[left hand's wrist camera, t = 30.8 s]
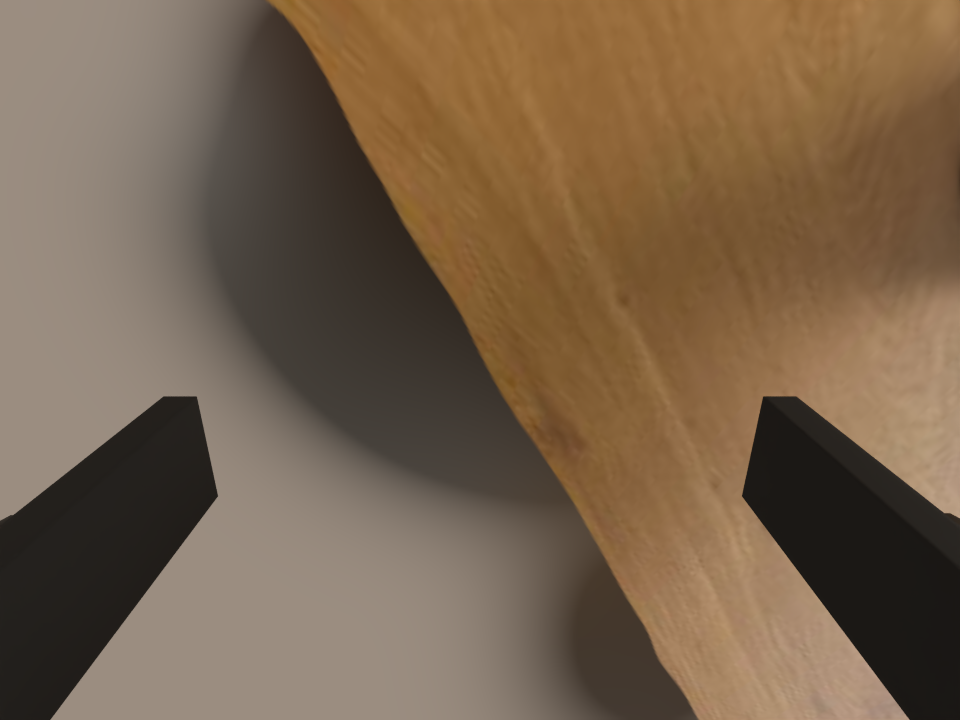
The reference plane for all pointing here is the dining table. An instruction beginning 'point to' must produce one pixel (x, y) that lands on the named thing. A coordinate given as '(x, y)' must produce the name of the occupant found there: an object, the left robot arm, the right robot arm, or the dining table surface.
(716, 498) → the dining table surface
